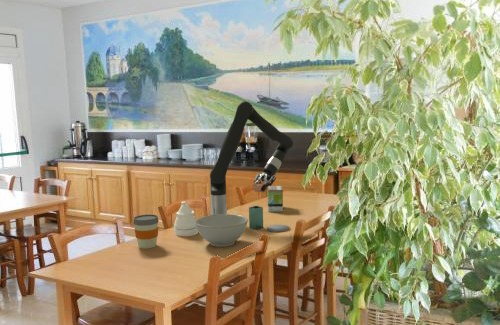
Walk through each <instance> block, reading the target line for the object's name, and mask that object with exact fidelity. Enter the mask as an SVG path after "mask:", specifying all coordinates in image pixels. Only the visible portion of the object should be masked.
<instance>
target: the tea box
mask: <svg viewBox="0 0 500 325" xmlns="http://www.w3.org/2000/svg"><path fill="white" fill-rule="evenodd" d="M266 194H267V210H268V212H270V213H273V212H276V213H278V212H280V213H281V212H283V211H284V190H283V186H282V185H271V186H268V189H267V193H266Z"/></svg>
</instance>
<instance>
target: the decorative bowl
mask: <svg viewBox="0 0 500 325" xmlns="http://www.w3.org/2000/svg"><path fill="white" fill-rule="evenodd" d="M248 221H249V218H247V217H246V216H243V215H238V214H230V213H229V214H228V213H227V214H219V215H206V216H202V217H199V218H197V219H196V221H195V224H196V227H197V230H198V233H199V235H200V236H201V237H202V238H203V239H204V240H205V241H206V242H208V243H209V244H210V245H211V246H213V247H217V248H218V247H220V248H221V247H222V248H224V247H229V246H232V245H234V244H235V242H236V241H237V240H239V239H240V238H241V236H243V234H244V232H245V230H246V228H247V226H248V223H249V222H248Z"/></svg>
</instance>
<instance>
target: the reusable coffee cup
mask: <svg viewBox="0 0 500 325" xmlns="http://www.w3.org/2000/svg"><path fill="white" fill-rule="evenodd" d="M133 225H134V233H135V234H134V235H135V238H136V241H137V246H138V248H139V249H151V248H155V247H156V246H157V240H158V236H159V226H158V225H159V216H158V215H156V214H141V215H136V216H134V217H133Z"/></svg>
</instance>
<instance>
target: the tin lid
mask: <svg viewBox="0 0 500 325" xmlns="http://www.w3.org/2000/svg"><path fill="white" fill-rule="evenodd" d="M258 183H259V182H258ZM264 184H265V183H264V182H263V183H259V184H255V183H254V184H251V186H252V188H251V189H252V190H254V189H255V190H254V192H256V193H263V192H262V191H261V188H262V187H263V185H264ZM266 190H268V187H267V188H266V189H265V191H264V193H265V192H266Z"/></svg>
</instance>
